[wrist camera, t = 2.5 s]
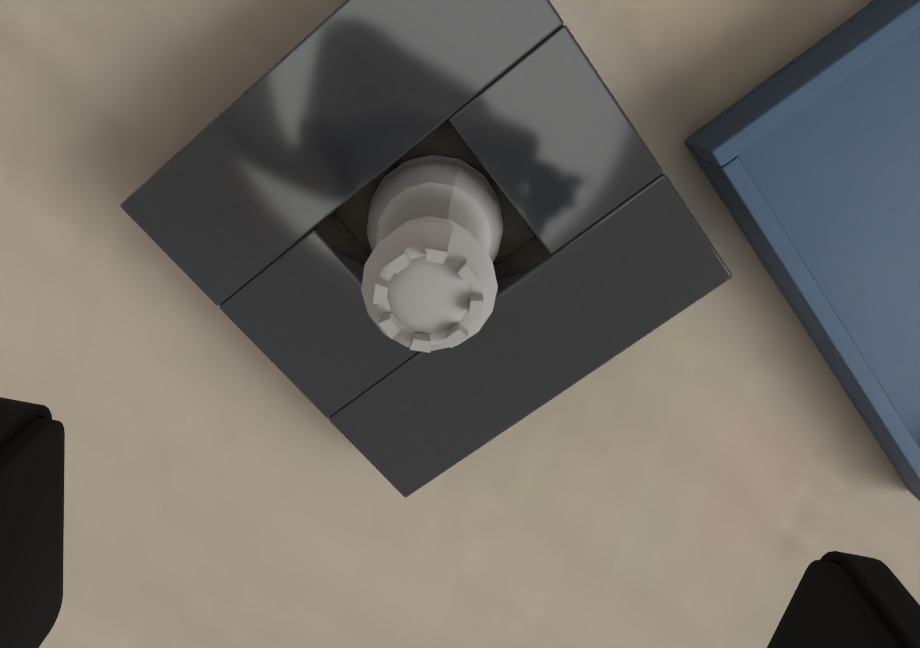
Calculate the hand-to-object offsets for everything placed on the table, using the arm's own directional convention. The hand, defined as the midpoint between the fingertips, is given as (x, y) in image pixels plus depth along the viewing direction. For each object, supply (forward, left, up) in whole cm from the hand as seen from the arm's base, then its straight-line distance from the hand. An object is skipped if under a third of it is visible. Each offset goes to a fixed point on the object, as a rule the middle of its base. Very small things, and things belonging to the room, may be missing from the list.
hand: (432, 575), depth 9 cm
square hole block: (-1, 0, -16) cm, 16 cm away
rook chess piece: (-1, 0, -16) cm, 16 cm away
